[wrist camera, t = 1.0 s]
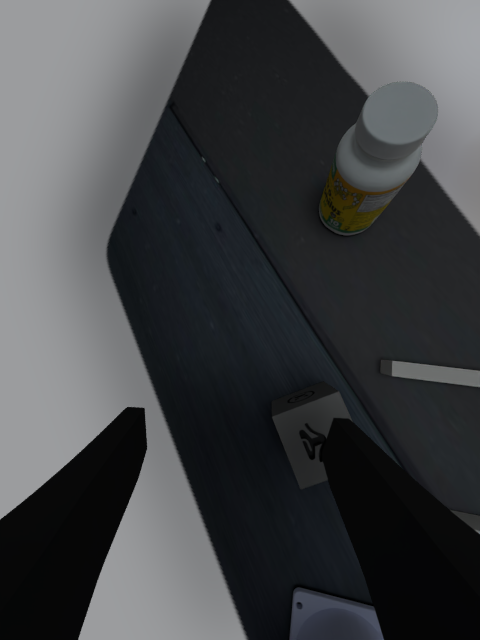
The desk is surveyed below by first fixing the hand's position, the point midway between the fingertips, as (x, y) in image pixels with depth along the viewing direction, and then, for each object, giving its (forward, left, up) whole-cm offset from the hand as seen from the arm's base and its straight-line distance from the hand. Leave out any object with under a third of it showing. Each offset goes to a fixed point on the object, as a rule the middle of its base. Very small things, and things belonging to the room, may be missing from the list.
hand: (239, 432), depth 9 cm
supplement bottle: (+17, -7, -13) cm, 23 cm away
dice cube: (-2, -5, -13) cm, 14 cm away
